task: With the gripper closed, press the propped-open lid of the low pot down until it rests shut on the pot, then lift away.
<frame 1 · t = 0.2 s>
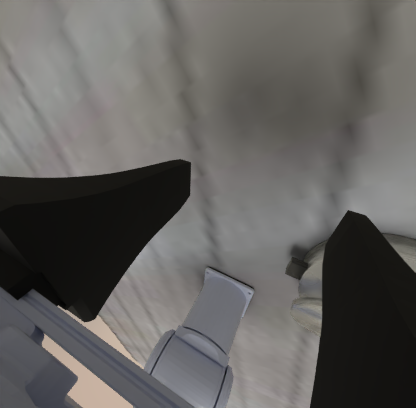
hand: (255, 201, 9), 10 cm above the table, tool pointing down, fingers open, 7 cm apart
lid: (376, 352, 16), point 6 cm above the table, hinge at 20.0°
pot: (371, 282, 21), on the table
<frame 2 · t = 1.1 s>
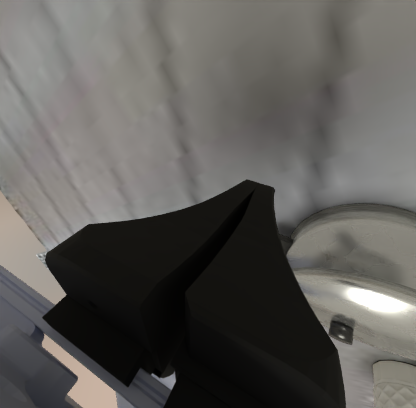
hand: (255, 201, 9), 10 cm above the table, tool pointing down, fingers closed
white cup: (404, 374, 26), on the table
lid: (361, 324, 16), point 6 cm above the table, hinge at 20.0°
pot: (358, 258, 20), on the table
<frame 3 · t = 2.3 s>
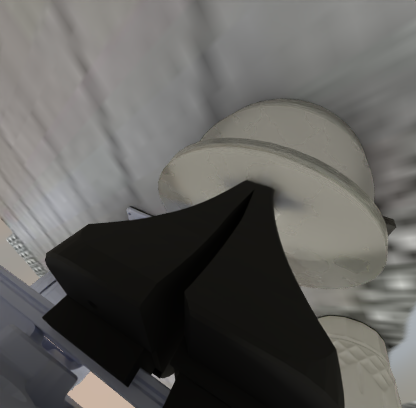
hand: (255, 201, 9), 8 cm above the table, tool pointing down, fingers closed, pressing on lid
white cup: (346, 332, 23), on the table
lid: (247, 237, 13), point 6 cm above the table, hinge at 19.7°, touching gripper
pot: (271, 183, 17), on the table
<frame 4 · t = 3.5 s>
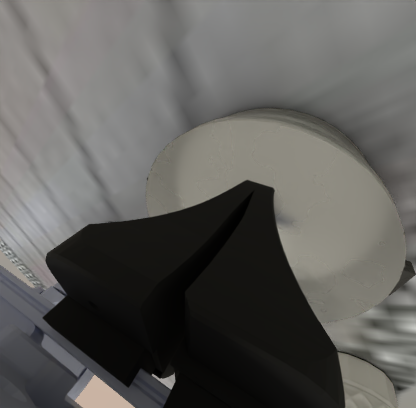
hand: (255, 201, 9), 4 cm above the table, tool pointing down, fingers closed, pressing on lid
white cup: (348, 368, 21), on the table
lid: (241, 247, 11), point 4 cm above the table, hinge at 1.1°, touching gripper
pot: (260, 206, 15), on the table
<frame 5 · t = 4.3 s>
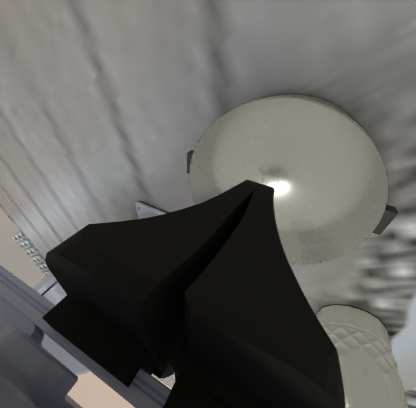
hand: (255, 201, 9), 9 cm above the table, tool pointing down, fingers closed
white cup: (349, 321, 24), on the table
lid: (267, 200, 15), point 4 cm above the table, hinge at 1.0°
pot: (278, 175, 18), on the table
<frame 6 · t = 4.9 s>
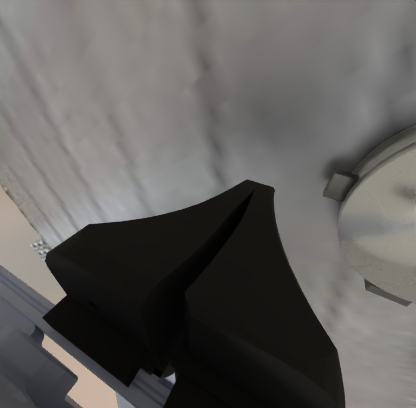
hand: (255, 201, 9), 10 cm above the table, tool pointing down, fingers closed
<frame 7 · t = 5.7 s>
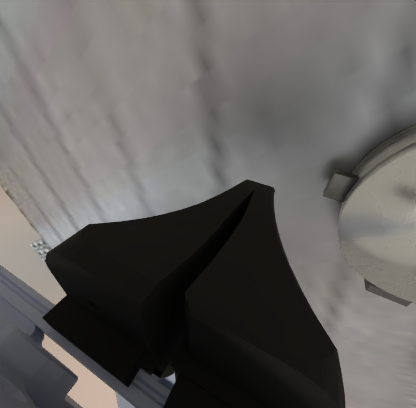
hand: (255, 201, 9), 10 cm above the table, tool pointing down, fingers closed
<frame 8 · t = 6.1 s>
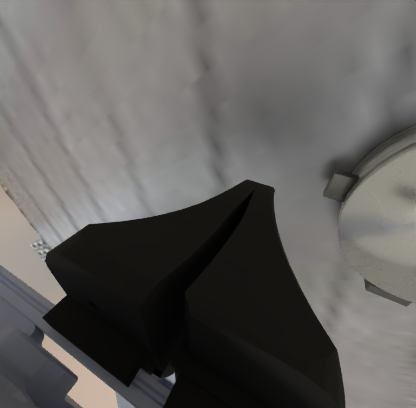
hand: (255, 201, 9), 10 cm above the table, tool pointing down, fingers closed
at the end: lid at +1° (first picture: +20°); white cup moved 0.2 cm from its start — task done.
